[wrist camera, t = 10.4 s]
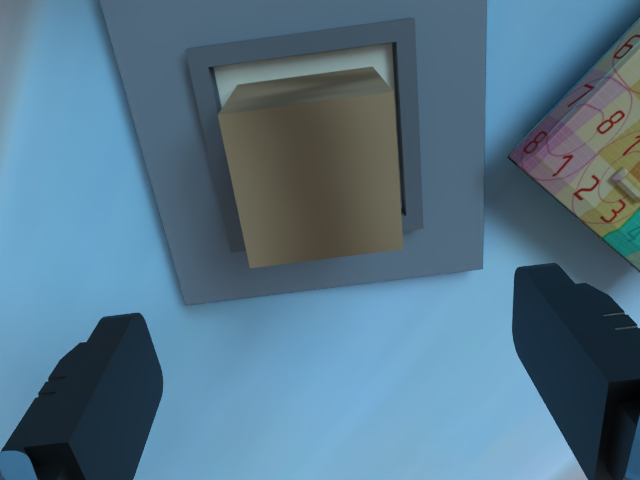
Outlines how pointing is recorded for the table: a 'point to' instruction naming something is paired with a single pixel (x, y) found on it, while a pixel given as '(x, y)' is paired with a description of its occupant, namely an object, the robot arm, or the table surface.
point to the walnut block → (314, 166)
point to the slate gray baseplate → (291, 61)
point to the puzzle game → (595, 148)
